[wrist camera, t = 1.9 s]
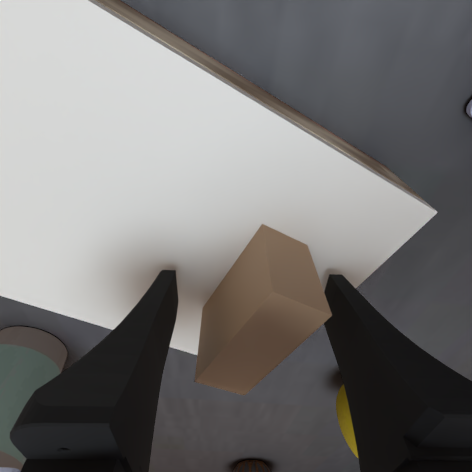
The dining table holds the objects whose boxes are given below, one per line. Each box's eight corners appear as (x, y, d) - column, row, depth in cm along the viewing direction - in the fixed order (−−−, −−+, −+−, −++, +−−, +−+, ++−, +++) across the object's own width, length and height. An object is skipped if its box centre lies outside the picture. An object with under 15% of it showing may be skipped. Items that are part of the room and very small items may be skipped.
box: (385, 166, 17) (423, 200, 13) (256, 313, 24) (261, 359, 20) (47, -46, 11) (-27, -76, 8) (10, 222, 18) (-38, 264, 15)
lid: (427, 203, 13) (511, 278, 9) (261, 363, 20) (268, 445, 16) (-35, -79, 8) (-296, -186, 4) (-42, 268, 15) (-141, 353, 11)
